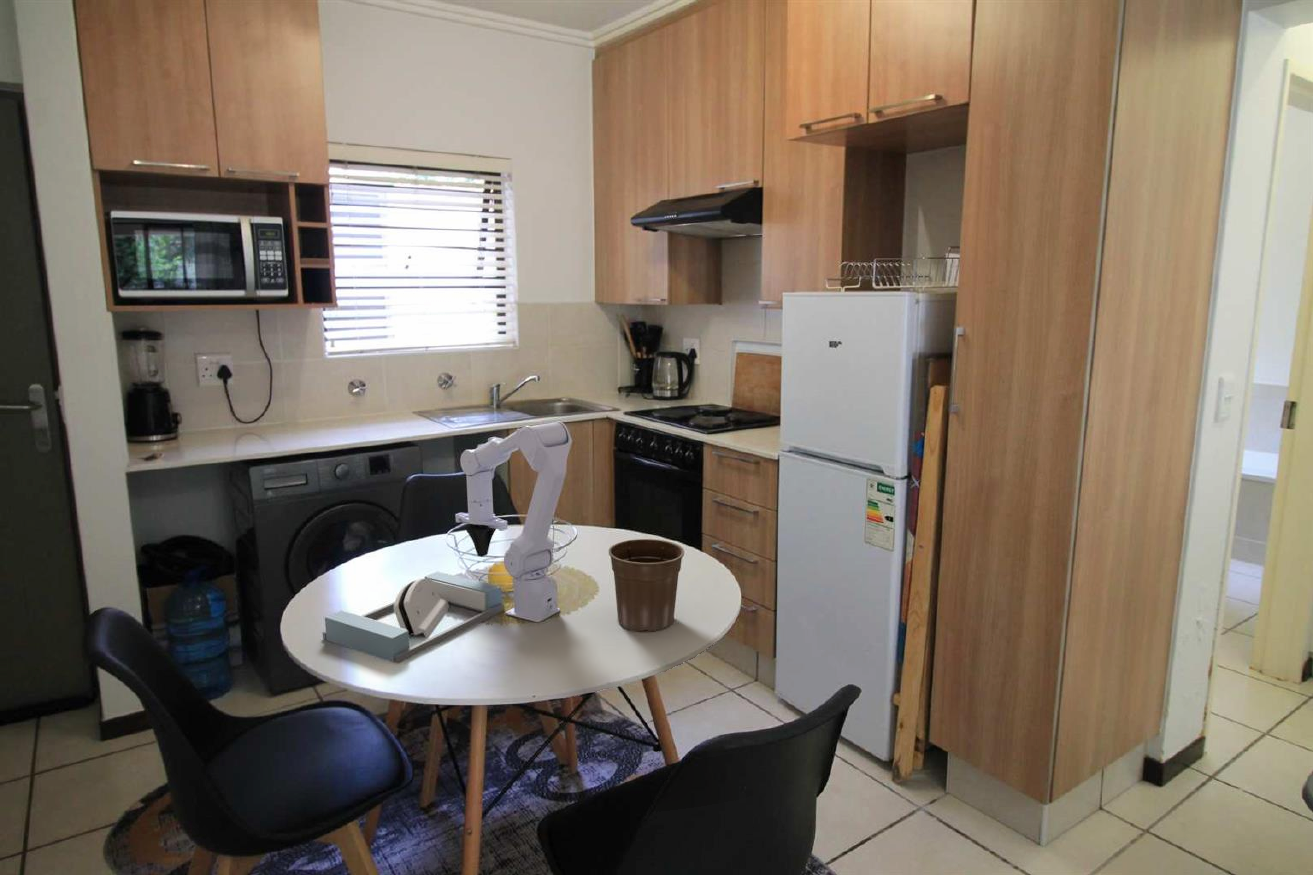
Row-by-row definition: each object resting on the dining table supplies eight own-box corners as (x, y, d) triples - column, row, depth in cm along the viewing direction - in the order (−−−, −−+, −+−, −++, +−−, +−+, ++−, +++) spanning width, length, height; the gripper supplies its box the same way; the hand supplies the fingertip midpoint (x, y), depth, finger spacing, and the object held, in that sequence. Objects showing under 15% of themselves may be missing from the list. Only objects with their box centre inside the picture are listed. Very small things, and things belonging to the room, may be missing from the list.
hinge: (427, 638, 163) (408, 595, 162) (406, 645, 164) (387, 602, 162) (450, 606, 180) (433, 567, 178) (431, 613, 180) (414, 574, 178)
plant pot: (698, 617, 174) (698, 546, 171) (656, 643, 160) (656, 567, 158) (638, 601, 183) (637, 534, 180) (594, 625, 169) (593, 553, 167)
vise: (504, 609, 178) (503, 588, 177) (397, 663, 152) (396, 639, 151) (433, 591, 189) (432, 571, 188) (323, 638, 163) (321, 616, 162)
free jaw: (502, 607, 179) (501, 586, 178) (488, 614, 175) (487, 593, 174) (438, 591, 189) (437, 571, 188) (424, 597, 185) (422, 577, 184)
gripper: (515, 499, 184) (517, 555, 186) (469, 491, 191) (471, 545, 193) (494, 506, 178) (497, 564, 180) (447, 498, 185) (450, 553, 187)
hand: (482, 555), depth 186 cm, fingers closed
